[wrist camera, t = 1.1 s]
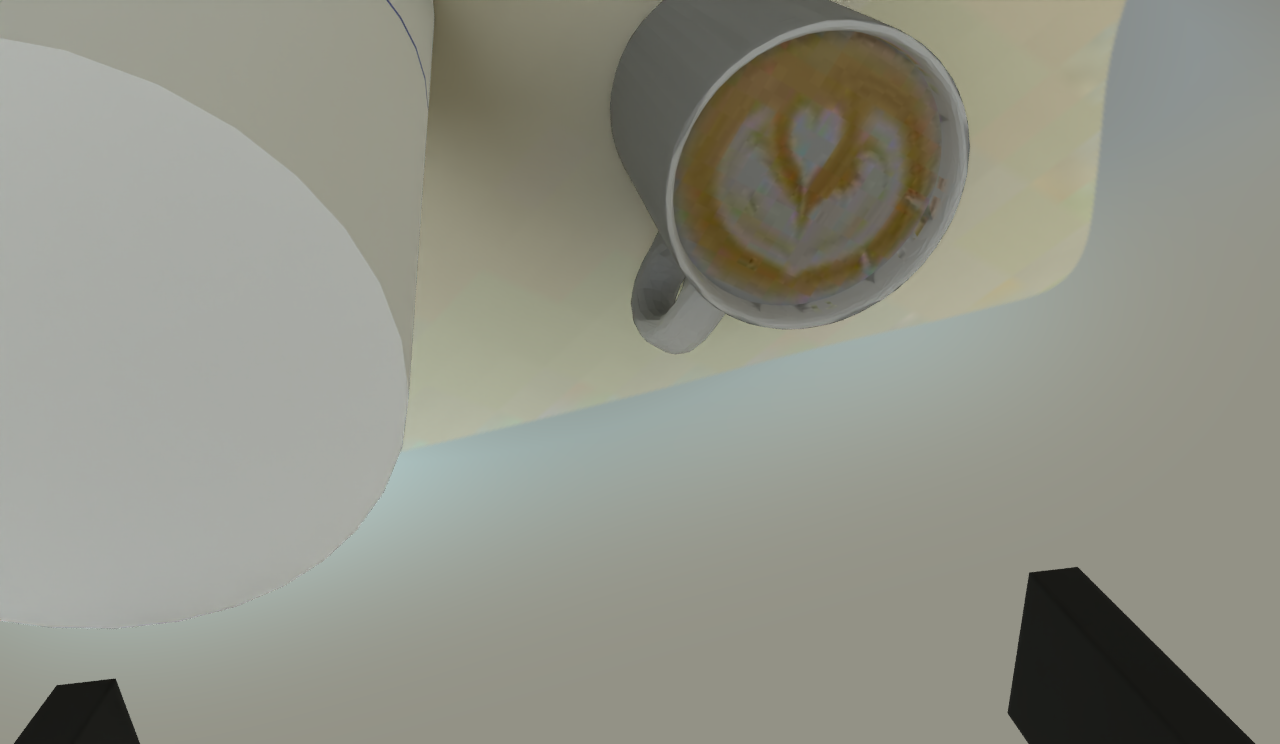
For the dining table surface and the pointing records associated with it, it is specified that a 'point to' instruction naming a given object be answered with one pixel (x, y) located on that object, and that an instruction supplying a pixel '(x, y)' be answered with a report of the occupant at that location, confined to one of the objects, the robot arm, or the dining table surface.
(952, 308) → the dining table surface
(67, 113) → the cylindrical container
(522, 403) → the dining table surface
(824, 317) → the coffee mug
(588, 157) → the dining table surface
